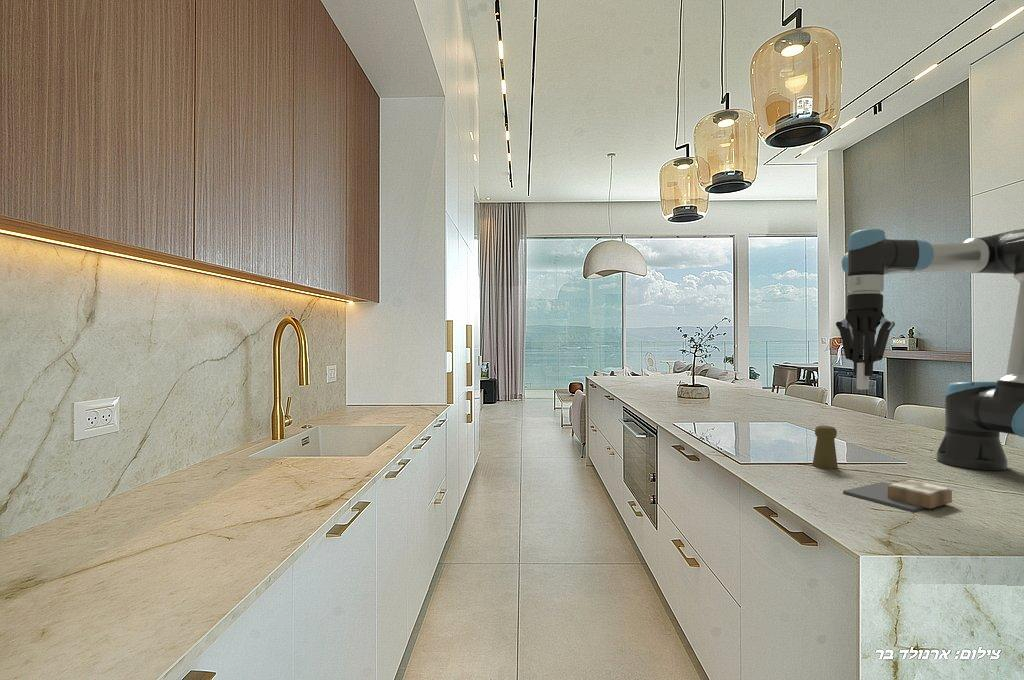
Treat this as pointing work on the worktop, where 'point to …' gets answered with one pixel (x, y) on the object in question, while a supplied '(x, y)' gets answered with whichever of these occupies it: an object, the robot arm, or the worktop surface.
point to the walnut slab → (920, 493)
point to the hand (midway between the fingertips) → (862, 389)
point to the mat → (880, 496)
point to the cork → (825, 448)
